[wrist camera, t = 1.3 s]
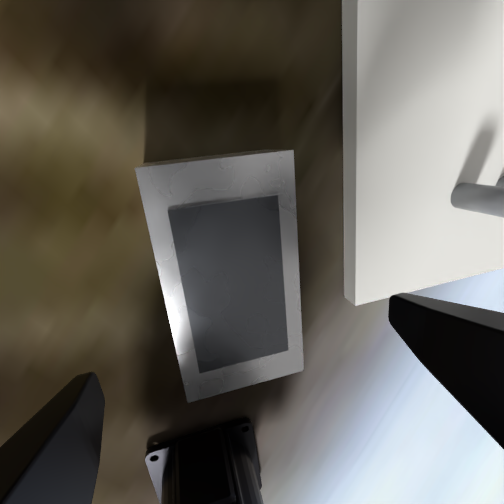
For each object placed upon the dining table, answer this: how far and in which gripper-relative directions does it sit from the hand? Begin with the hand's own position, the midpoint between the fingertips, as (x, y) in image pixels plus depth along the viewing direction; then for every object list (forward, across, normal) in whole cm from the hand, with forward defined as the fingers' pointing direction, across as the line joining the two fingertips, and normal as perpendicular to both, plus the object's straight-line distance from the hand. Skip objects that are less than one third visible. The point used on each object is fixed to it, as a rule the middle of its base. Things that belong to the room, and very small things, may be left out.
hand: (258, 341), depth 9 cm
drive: (+8, 0, 0) cm, 8 cm away
